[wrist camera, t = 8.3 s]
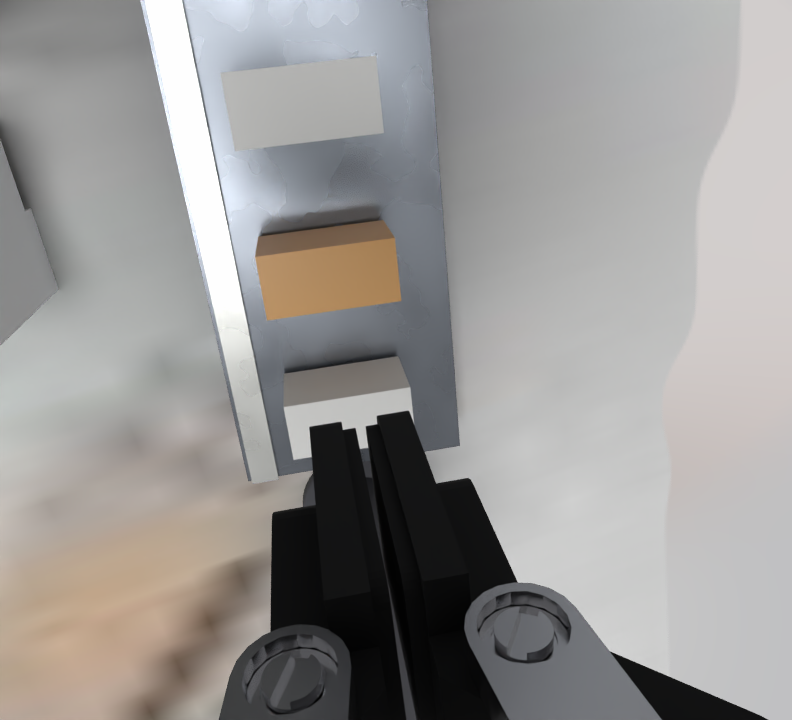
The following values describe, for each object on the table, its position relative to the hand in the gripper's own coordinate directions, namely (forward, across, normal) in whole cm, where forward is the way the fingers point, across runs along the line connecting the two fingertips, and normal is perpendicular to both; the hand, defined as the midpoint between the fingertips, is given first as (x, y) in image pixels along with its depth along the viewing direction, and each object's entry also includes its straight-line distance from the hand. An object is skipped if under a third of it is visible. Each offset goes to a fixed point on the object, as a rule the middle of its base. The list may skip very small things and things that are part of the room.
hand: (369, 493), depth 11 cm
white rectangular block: (+17, 0, +7) cm, 19 cm away
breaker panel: (+21, 0, +1) cm, 21 cm away
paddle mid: (+18, 0, +1) cm, 18 cm away
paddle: (+18, 0, -5) cm, 18 cm away
